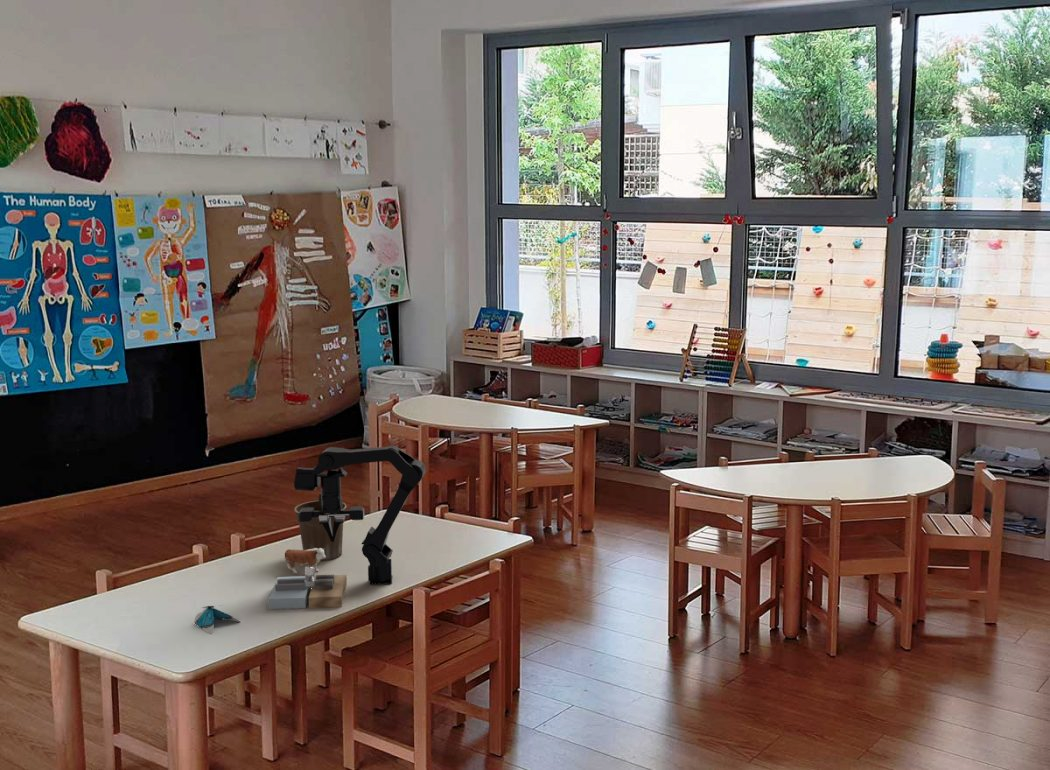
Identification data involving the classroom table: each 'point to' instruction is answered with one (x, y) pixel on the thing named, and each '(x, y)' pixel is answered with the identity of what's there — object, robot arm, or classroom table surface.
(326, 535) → the plant pot
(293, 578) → the door panel
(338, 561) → the classroom table surface
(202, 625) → the decorative butterfly
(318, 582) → the jamb
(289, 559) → the bull figurine
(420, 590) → the classroom table surface
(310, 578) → the bolt
